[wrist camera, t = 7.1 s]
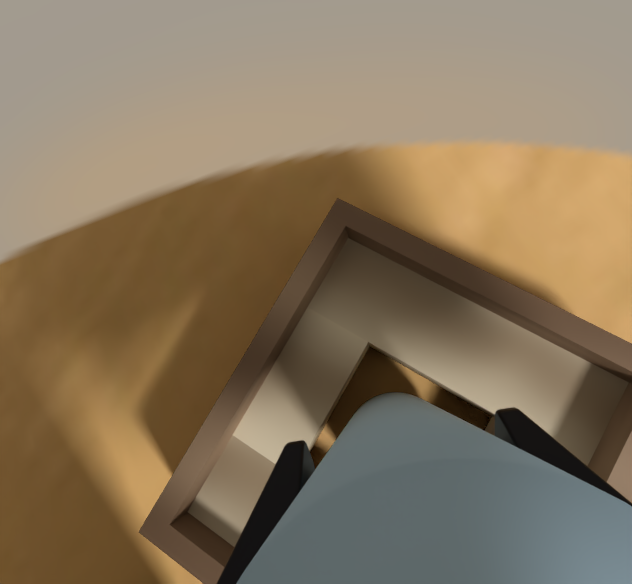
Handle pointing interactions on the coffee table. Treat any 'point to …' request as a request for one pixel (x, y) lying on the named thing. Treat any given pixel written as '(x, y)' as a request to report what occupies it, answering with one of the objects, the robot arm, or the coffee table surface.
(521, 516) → the peg
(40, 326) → the coffee table surface
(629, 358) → the bore box
